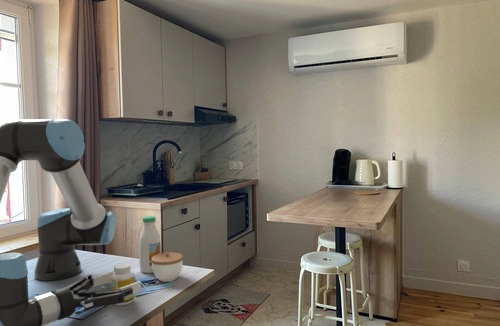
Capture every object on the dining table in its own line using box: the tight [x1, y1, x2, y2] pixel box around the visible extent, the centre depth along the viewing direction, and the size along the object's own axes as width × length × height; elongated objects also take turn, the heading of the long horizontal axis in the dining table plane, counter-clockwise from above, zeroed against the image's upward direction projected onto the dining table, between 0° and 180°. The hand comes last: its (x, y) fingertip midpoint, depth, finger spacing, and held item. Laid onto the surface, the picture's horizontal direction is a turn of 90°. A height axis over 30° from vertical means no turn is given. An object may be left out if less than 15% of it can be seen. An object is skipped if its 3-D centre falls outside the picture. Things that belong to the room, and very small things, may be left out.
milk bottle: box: [138, 215, 162, 274], centre depth 139 cm, size 8×8×20 cm
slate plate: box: [88, 276, 137, 292], centre depth 123 cm, size 15×15×2 cm
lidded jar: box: [151, 251, 184, 283], centre depth 130 cm, size 11×11×9 cm
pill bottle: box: [112, 262, 135, 306], centre depth 112 cm, size 6×6×11 cm
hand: (126, 280), depth 112 cm, fingers open, 13 cm apart
